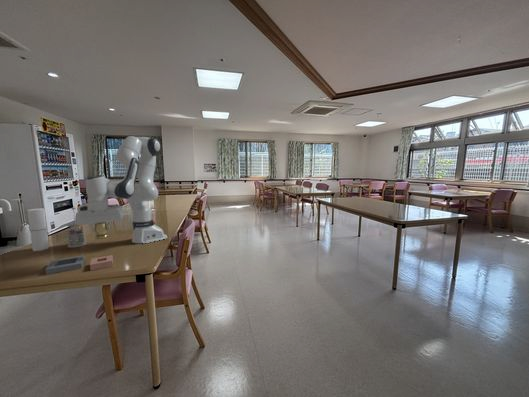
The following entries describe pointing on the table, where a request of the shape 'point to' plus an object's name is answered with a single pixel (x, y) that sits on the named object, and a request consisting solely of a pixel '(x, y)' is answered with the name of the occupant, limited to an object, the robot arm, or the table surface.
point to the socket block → (75, 264)
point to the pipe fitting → (101, 230)
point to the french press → (75, 235)
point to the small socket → (101, 262)
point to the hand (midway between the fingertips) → (101, 230)
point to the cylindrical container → (38, 229)
